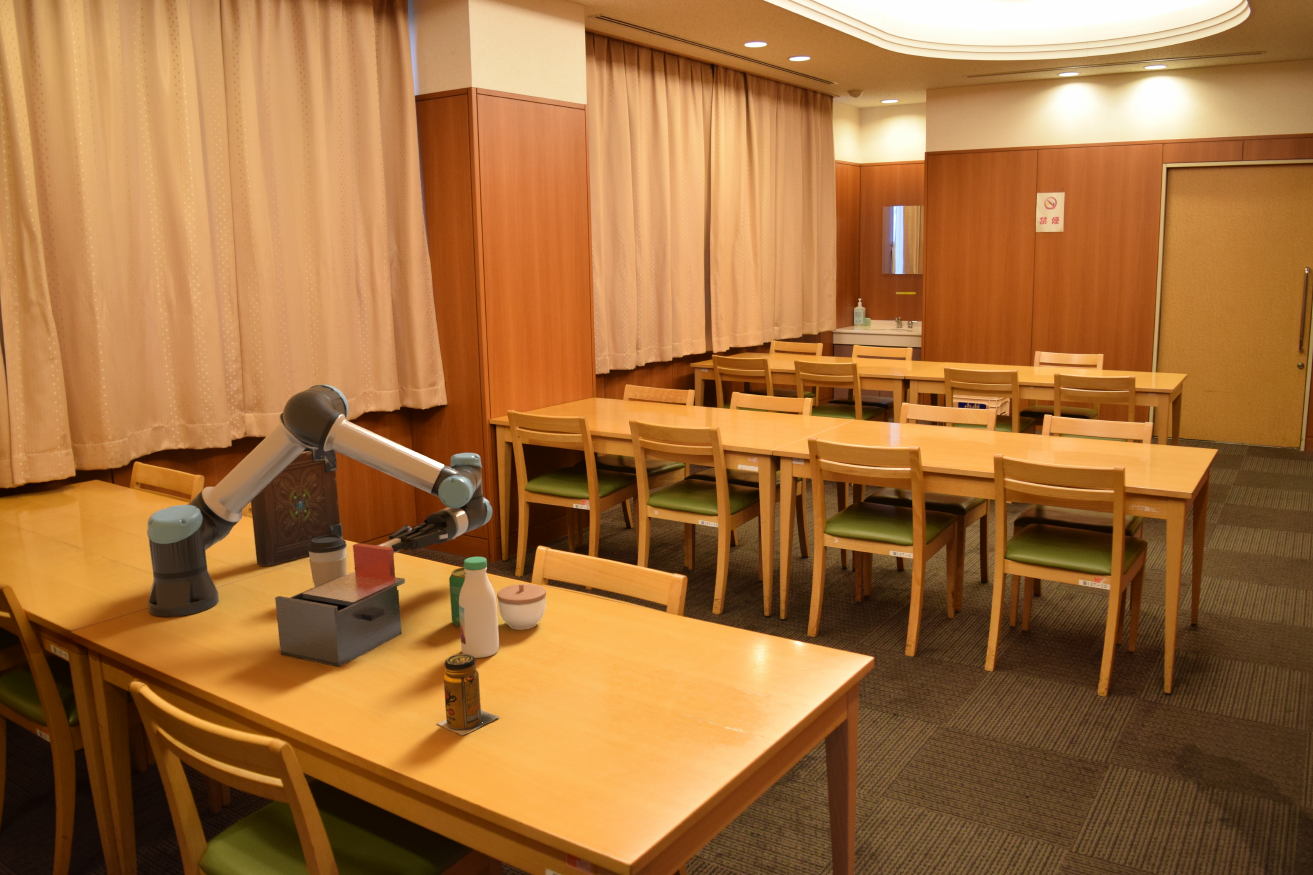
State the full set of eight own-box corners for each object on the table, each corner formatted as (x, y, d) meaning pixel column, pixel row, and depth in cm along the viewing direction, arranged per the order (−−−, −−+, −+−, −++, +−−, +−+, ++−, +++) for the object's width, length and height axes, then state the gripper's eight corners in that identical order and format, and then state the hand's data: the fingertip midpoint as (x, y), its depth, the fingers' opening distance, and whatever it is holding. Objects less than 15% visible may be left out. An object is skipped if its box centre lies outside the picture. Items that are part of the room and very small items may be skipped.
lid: (356, 575, 220) (353, 541, 218) (404, 582, 214) (402, 547, 212) (302, 597, 206) (299, 561, 204) (353, 606, 200) (350, 569, 198)
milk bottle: (505, 646, 204) (501, 555, 200) (487, 660, 197) (482, 566, 193) (473, 642, 206) (468, 552, 203) (454, 656, 199) (448, 563, 196)
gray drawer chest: (337, 621, 220) (333, 568, 218) (410, 635, 211) (406, 580, 209) (272, 652, 203) (266, 595, 201) (348, 668, 194) (343, 609, 192)
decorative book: (330, 543, 282) (321, 442, 276) (343, 548, 277) (335, 445, 272) (252, 563, 264) (241, 456, 259) (266, 568, 260) (255, 459, 254)
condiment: (436, 724, 170) (431, 660, 168) (474, 706, 177) (470, 644, 175) (462, 736, 166) (458, 670, 164) (500, 718, 172) (497, 654, 170)
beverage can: (495, 618, 220) (492, 568, 218) (474, 631, 213) (471, 578, 211) (466, 613, 223) (463, 564, 221) (444, 626, 216) (441, 574, 214)
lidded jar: (538, 635, 210) (536, 593, 208) (491, 632, 212) (489, 591, 210) (553, 617, 220) (551, 577, 218) (508, 614, 222) (506, 575, 220)
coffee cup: (338, 603, 232) (333, 543, 229) (304, 601, 234) (298, 541, 231) (357, 591, 240) (352, 532, 238) (324, 589, 242) (319, 531, 240)
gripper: (468, 542, 234) (403, 571, 213) (424, 537, 239) (357, 564, 218) (466, 512, 232) (401, 538, 211) (422, 507, 238) (355, 532, 217)
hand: (379, 552), depth 215 cm, fingers closed
